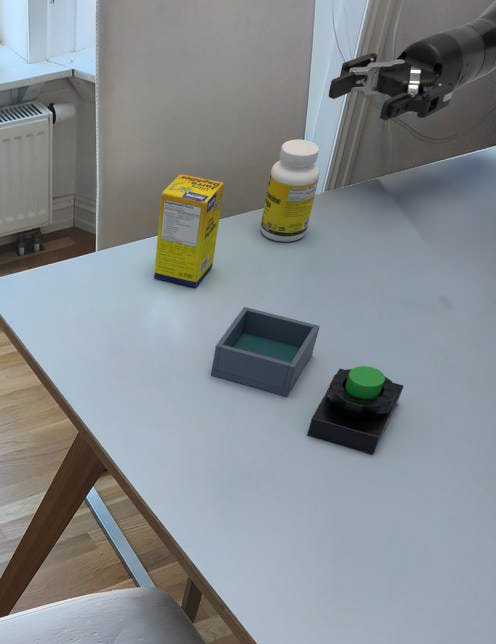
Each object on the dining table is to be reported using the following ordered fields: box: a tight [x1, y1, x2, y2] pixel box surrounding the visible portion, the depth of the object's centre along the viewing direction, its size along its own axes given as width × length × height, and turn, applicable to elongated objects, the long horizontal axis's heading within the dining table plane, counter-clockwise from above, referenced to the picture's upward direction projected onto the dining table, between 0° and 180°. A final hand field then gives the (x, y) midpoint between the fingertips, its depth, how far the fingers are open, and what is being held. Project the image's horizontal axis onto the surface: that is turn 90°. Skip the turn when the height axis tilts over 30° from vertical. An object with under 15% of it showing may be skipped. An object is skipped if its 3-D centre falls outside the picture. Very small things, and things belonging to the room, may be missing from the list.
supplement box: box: [153, 173, 225, 288], centre depth 110 cm, size 6×6×11 cm
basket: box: [210, 306, 321, 397], centre depth 100 cm, size 9×9×4 cm
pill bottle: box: [260, 139, 320, 243], centre depth 116 cm, size 6×6×11 cm
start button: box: [345, 365, 386, 399], centre depth 91 cm, size 4×4×2 cm
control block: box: [306, 368, 404, 455], centre depth 93 cm, size 7×10×4 cm
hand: (357, 100), depth 113 cm, fingers open, 8 cm apart
